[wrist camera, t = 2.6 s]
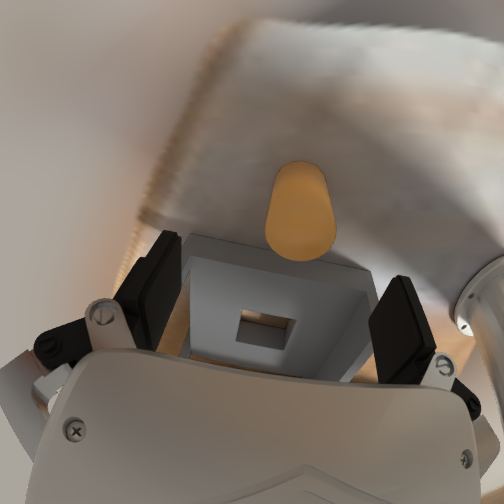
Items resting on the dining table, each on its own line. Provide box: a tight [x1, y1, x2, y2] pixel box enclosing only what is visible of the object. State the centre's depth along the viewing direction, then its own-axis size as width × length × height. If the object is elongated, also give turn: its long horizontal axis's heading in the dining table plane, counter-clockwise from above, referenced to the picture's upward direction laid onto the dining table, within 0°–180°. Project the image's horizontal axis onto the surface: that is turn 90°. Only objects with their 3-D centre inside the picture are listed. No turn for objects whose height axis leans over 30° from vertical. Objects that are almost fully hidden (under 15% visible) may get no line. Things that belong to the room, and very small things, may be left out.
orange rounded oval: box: [265, 161, 336, 261], centre depth 18 cm, size 4×4×7 cm
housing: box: [178, 234, 379, 382], centre depth 31 cm, size 17×30×8 cm, turn 171°
